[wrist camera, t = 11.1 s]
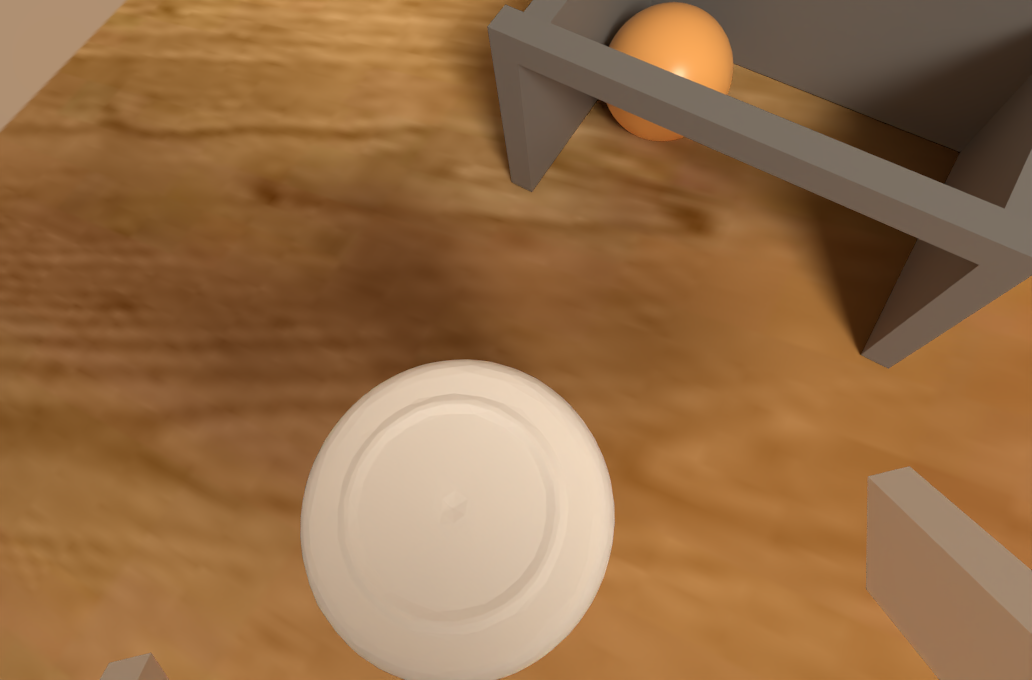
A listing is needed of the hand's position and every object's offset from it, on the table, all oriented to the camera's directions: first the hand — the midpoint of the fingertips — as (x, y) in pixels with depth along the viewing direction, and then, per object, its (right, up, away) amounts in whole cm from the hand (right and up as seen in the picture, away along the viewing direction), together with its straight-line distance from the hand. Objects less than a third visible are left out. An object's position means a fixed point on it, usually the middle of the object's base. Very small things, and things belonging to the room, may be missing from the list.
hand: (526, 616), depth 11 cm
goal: (+9, +12, +14) cm, 21 cm away
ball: (+6, +16, +13) cm, 21 cm away
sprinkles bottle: (0, -2, +10) cm, 10 cm away
